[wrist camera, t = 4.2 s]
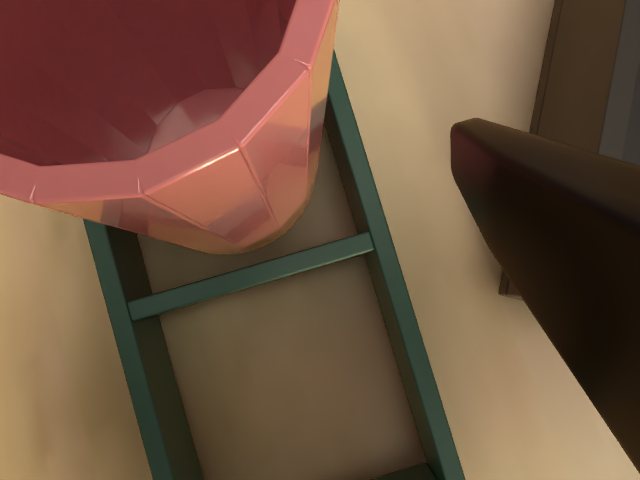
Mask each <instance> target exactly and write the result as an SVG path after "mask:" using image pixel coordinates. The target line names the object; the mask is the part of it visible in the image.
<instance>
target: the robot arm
mask: <svg viewBox="0 0 640 480" xmlns="http://www.w3.org/2000/svg"><path fill="white" fill-rule="evenodd" d="M450 139H451V170H452V174H453V177H454V180H455V182H456V184H457V186H458V188H459V190H460V192H461V194H462V196H463V198H464V200H465V202H466V204H467V206H468V208H469V210H470V212H471V214H472V216H473V218H474V220H475V222H476V224H477V226H478V228H479V230H480V232H481V234H482V236H483V238H484V240H485V242H486V244H487V245H488V247H489V249H490V251H491V252H492V254H493V255H494V257H495V259H496V260H497V262H498V263H499V265H500V266H501V267H502V269H503V270H504V272H505V273H506V275H507V276H508V278H509V279H510V281H511V282H512V284H513V285H514V287H515V288H516V290H517V291H518V293H519V294H520V296H521V297H522V299H523V300H524V302H525V303H526V305H527V306H528V308H529V309H530V311H531V312H532V314H533V315H534V317H535V318H536V320H537V321H538V323H539V324H540V326H541V327H542V329H543V330H544V332H545V333H546V335H547V336H548V338H549V339H550V341H551V342H552V344H553V345H554V347H555V348H556V350H557V351H558V353H559V354H560V356H561V357H562V359H563V360H564V361H565V363H566V364H567V366H568V367H569V369H570V370H571V372H572V373H573V375H574V376H575V378H576V379H577V381H578V382H579V384H580V385H581V387H582V388H583V390H584V391H585V393H586V394H587V396H588V397H589V399H590V400H591V402H592V403H593V405H594V406H595V408H596V409H597V411H598V412H599V414H600V415H601V417H602V418H603V420H604V421H605V423H606V424H607V426H608V427H609V429H610V430H611V432H612V433H613V435H614V436H615V438H616V439H617V441H618V442H619V444H620V445H621V447H622V448H623V450H624V451H625V453H626V454H627V455H628V457H629V458H630V460H631V461H632V463H633V464H634V466H635V467H636V469H637V470H638V472H639V473H640V166H639V165H635V164H632V163H629V162H625V161H622V160H618V159H615V158H612V157H608V156H605V155H601V154H598V153H595V152H591V151H588V150H585V149H581V148H578V147H574V146H571V145H568V144H564V143H561V142H557V141H554V140H551V139H547V138H544V137H540V136H537V135H534V134H530V133H527V132H523V131H520V130H517V129H513V128H510V127H507V126H503V125H500V124H496V123H493V122H490V121H486V120H483V119H479V118H472V119H469V120H465V121H462V122H458V123H455V124H454V125H453V126H452V128H451V133H450Z"/></svg>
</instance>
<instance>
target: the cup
mask: <svg viewBox="0 0 640 480" xmlns="http://www.w3.org/2000/svg"><path fill="white" fill-rule="evenodd" d="M339 2H340V0H0V194H2V195H5V196H8V197H11V198H14V199H17V200H20V201H23V202H26V203H29V204H33V205H36V206H40V207H44V208H47V209H51V210H54V211H58V212H62V213H65V214H69V215H72V216H76V217H80V218H83V219H87V220H91V221H94V222H98V223H101V224H105V225H109V226H112V227H116V228H120V229H123V230H127V231H130V232H134V233H138V234H141V235H145V236H149V237H152V238H156V239H159V240H163V241H167V242H170V243H174V244H177V245H181V246H185V247H188V248H192V249H196V250H199V251H203V252H206V253H210V254H238V253H245V252H249V251H253V250H256V249H259V248H261V247H263V246H266V245H268V244H270V243H271V242H273V241H275V240H276V239H278V238H279V237H281V236H282V235H283V234H284V233H286V232H287V231H288V230H289V229H290V228H291V227H292V226H293V225H294V224H295V222H296V221H297V220H298V218H299V217H300V216H301V214H302V213H303V211H304V210H305V208H306V207H307V204H308V201H309V199H310V196H311V193H312V190H313V186H314V183H315V179H316V176H317V169H318V162H319V154H320V146H321V139H322V131H323V124H324V116H325V108H326V101H327V93H328V85H329V78H330V70H331V63H332V55H333V47H334V40H335V32H336V25H337V17H338V9H339Z"/></svg>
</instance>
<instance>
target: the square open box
mask: <svg viewBox="0 0 640 480" xmlns="http://www.w3.org/2000/svg"><path fill="white" fill-rule="evenodd" d="M530 134H534V135H537V136H540V137H544V138H547V139H551V140H554V141H557V142H561V143H564V144H568V145H571V146H574V147H578V148H581V149H585V150H588V151H591V152H595V153H598V154H601V155H605V156H608V157H612V158H615V159H618V160H622V161H625V162H629V163H632V164H635V165H639V166H640V0H555V4H554V9H553V15H552V20H551V25H550V30H549V35H548V40H547V46H546V51H545V56H544V61H543V66H542V71H541V77H540V82H539V87H538V92H537V97H536V102H535V108H534V113H533V118H532V123H531V128H530ZM499 294H500V295H502V296H507V297H511V298H516V299H520V300H523V299H522V297H521V296H520V294H519V293H518V291H517V290H516V288H515V287H514V285H513V284H512V282H511V281H510V279H509V278H508V276H507V275H506V273H505V272H504V270H503V273H502V278H501V283H500V289H499Z"/></svg>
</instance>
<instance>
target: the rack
mask: <svg viewBox="0 0 640 480" xmlns="http://www.w3.org/2000/svg"><path fill="white" fill-rule="evenodd" d="M324 123H325V126H326V129H327V133H328V136H329V139H330V142H331V146H332V149H333V152H334V156H335V159H336V162H337V166H338V169H339V172H340V176H341V179H342V182H343V186H344V189H345V192H346V196H347V199H348V202H349V205H350V209H351V212H352V215H353V219H354V222H355V225H356V229H357V232H358V234H357V235H354V236H350V237H347V238H344V239H340V240H337V241H333V242H330V243H327V244H323V245H320V246H316V247H313V248H310V249H306V250H303V251H299V252H296V253H293V254H289V255H286V256H282V257H279V258H276V259H272V260H269V261H265V262H262V263H258V264H255V265H252V266H248V267H245V268H241V269H238V270H235V271H231V272H228V273H224V274H221V275H218V276H214V277H211V278H207V279H204V280H201V281H197V282H194V283H190V284H187V285H184V286H180V287H177V288H173V289H170V290H167V291H163V292H160V293H156V294H153V295H152V291H151V287H150V284H149V280H148V277H147V273H146V269H145V266H144V262H143V258H142V255H141V251H140V247H139V244H138V240H137V236H136V233H134V232H130V231H127V230H123V229H120V228H116V227H112V226H109V225H105V224H101V223H98V222H94V221H91V220H87V219H83V221H84V224H85V228H86V232H87V235H88V239H89V243H90V247H91V250H92V254H93V258H94V261H95V265H96V269H97V273H98V276H99V280H100V284H101V288H102V291H103V295H104V299H105V302H106V306H107V310H108V314H109V317H110V321H111V325H112V328H113V332H114V336H115V340H116V343H117V347H118V351H119V354H120V358H121V362H122V366H123V369H124V373H125V377H126V381H127V384H128V388H129V392H130V395H131V399H132V403H133V407H134V410H135V414H136V418H137V421H138V425H139V429H140V433H141V436H142V440H143V444H144V447H145V451H146V455H147V459H148V462H149V466H150V470H151V473H152V477H153V480H203V477H202V473H201V469H200V466H199V462H198V459H197V455H196V451H195V448H194V444H193V440H192V437H191V433H190V429H189V426H188V422H187V418H186V415H185V411H184V408H183V404H182V400H181V397H180V393H179V389H178V386H177V382H176V378H175V375H174V371H173V368H172V364H171V360H170V357H169V353H168V349H167V346H166V342H165V338H164V335H163V331H162V327H161V324H160V320H159V317H158V315H160V314H164V313H167V312H170V311H174V310H177V309H181V308H184V307H187V306H191V305H194V304H197V303H201V302H204V301H208V300H211V299H214V298H218V297H221V296H224V295H228V294H231V293H235V292H238V291H241V290H245V289H248V288H251V287H255V286H258V285H262V284H265V283H268V282H272V281H275V280H278V279H282V278H285V277H289V276H292V275H295V274H299V273H302V272H305V271H309V270H312V269H316V268H319V267H322V266H326V265H329V264H332V263H336V262H339V261H343V260H346V259H349V258H353V257H356V256H360V255H363V254H364V255H365V259H366V262H367V265H368V268H369V272H370V275H371V278H372V282H373V285H374V288H375V292H376V295H377V298H378V302H379V305H380V308H381V312H382V315H383V318H384V322H385V325H386V328H387V331H388V335H389V338H390V341H391V345H392V348H393V351H394V355H395V358H396V361H397V365H398V368H399V371H400V375H401V378H402V381H403V385H404V388H405V391H406V394H407V398H408V401H409V404H410V408H411V411H412V414H413V418H414V421H415V424H416V428H417V431H418V434H419V438H420V441H421V444H422V448H423V451H424V454H425V457H426V461H427V463H426V462H425V463H422V464H419V465H415V466H412V467H409V468H406V469H403V470H400V471H397V472H393V473H390V474H387V475H384V476H381V477H378V478H375V479H372V480H465V477H464V473H463V470H462V467H461V463H460V460H459V457H458V454H457V450H456V447H455V444H454V441H453V437H452V434H451V431H450V427H449V424H448V421H447V418H446V414H445V411H444V408H443V405H442V401H441V398H440V395H439V391H438V388H437V385H436V382H435V378H434V375H433V372H432V368H431V365H430V362H429V359H428V355H427V352H426V349H425V346H424V342H423V339H422V336H421V332H420V329H419V326H418V323H417V319H416V316H415V313H414V310H413V306H412V303H411V300H410V296H409V293H408V290H407V287H406V283H405V280H404V277H403V274H402V270H401V267H400V264H399V260H398V257H397V254H396V251H395V247H394V244H393V241H392V238H391V234H390V231H389V228H388V224H387V221H386V218H385V215H384V211H383V208H382V205H381V202H380V198H379V195H378V192H377V188H376V185H375V182H374V179H373V175H372V172H371V169H370V166H369V162H368V159H367V156H366V152H365V149H364V146H363V143H362V139H361V136H360V133H359V130H358V126H357V123H356V120H355V116H354V113H353V110H352V107H351V103H350V100H349V97H348V94H347V90H346V87H345V84H344V80H343V77H342V74H341V71H340V67H339V64H338V61H337V58H336V54H335V51H334V48H333V55H332V63H331V70H330V78H329V85H328V93H327V101H326V108H325V116H324Z"/></svg>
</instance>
